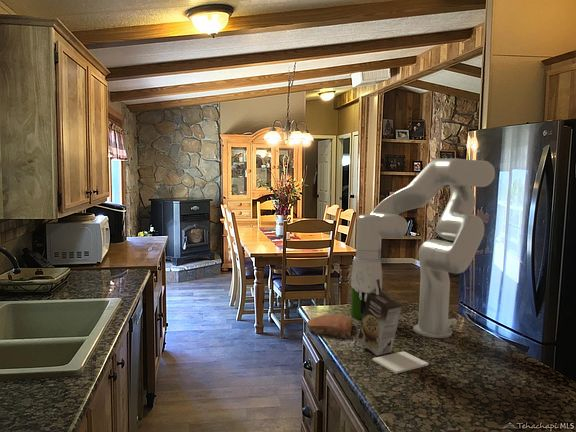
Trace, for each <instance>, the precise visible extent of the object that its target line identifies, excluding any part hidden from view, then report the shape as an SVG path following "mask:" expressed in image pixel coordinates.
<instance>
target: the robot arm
mask: <svg viewBox="0 0 576 432" xmlns="http://www.w3.org/2000/svg"><path fill="white" fill-rule="evenodd" d="M495 169H496V168H495V167H494V165H493V164H492V163H491V162H489V161H487V160H480V159H466V158H464V159H463V158H453V157H451V158H449V157H448V158H447V157H446V158H443V157H442V158H435V159H433V160H431V161H430V162H428V163H427V164H426V166H425V167H424V168H422V170H420V172H419V173H418V174H417V175H416V176H415V177H414V178H413V179H412V181H411V182H410V183H409V184H407V186H405V187H403V188H401V189H399V190H397V191H395V192H393V194H391V195H389V196H387V197H386V198H384V199H383V200H381V201H380V202H379V204H378V205H376V207H375V208H373V210H372V211H371V212H370V214H369V213H368V214H367V213H366V214H360V215H359V216H358V217H357V219H356V243H355V244H356V245H355V247H356V248H355V257H354V259H353V261H354V262H353V261H352V265H353V268H351V269H352V271H351V281H350V286H351V289H352V288H353V289H355V291H357V292H358V293H359V298H360V300H361V306H360V313H364V308H365V303H366V299H367V294H371V293H374V294H376V295H379V293H380V292H382V288H383V269H382V268H383V267H382V261H381V256H382V253H381V252H382V239H383V238H384V239H393V240H395V239H400V238H402V237H404V236H405V235H406V233H408V228H409V223H408V222H407V219H406V218H405V217H403V216H402V215H400V214H402V213H404V212H407V211H411V210H414V209H419V208H421V207H424V206H427V205H428V204H429V203H430V201H431V200H433V198H435V196H436V195H437V194H438V193H439V192H440V190H442V188H444V187H445V186H449V188H450V189H449V190H450V195H449V199H448V202H447V204H446V206H445V208H444V210H443V212H442V213H441V216H440V218H439V219H438V221H437V225H436V228H435V229H436V230H435V231H436V233H437V235H438V236H439V237H440V238H442V239H444V240H442V239H441V240H440V239H435V238H433V239H432V238H431V239H427V240H425V241H424V242H422V244H421V245H420V247H419V250H418V259H419V260H418V262H419V268H420V269H419V270H420V283H419V286H420V287H419V302H418V303H419V305H418V306H419V307H418V323H417V324H415V325H414V326H413V332H414V333H415V334H418V335H420V336H422V337H425V338H432V339H446V338H449V337H451V336H452V334H453V330H452V329H451V328H450V326H451V325H456V324H457V323H458V320H457V319H456V318H449V308H450V289H451V281H450V276H449V273H451V274H455V275H457V274H462V273H464V272H465V271H466V270H467V269H468V268H469V266H470V265H471V262H472V261H473V259H474V256H475V255H476V253H477V250H478V248H479V247H480V245H481V242H482V240H483V238H484V235H485V224H484V221H483V219H482V218H481V217H480V216H478V215H475V214H472V213H473V212H474V209H475V206H476V196H475V193H474V191H473V188H474V187H477V188H478V187H479V188H484V187H485V188H486V187H488V186H489V185H490V184H492V182H493V181H494V179H495V178H496V170H495ZM472 187H473V188H472ZM447 240H448V241H447ZM452 241H453V242H452Z"/></svg>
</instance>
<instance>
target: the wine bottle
mask: <svg viewBox="0 0 576 432" xmlns="http://www.w3.org/2000/svg"><path fill="white" fill-rule="evenodd" d="M353 262H354V260H353V261H352V263H353ZM351 267H352V268H353V264H352V265H351ZM352 268H351V269H352ZM350 299H351V300H350V301H351V302H350V316H351V318H354V319H356V320H362V318H363V313H360V306H361V300H360V298H359V293H358V292H357V291H355V289H353V288H352V287H351V297H350Z"/></svg>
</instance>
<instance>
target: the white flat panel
mask: <svg viewBox="0 0 576 432" xmlns="http://www.w3.org/2000/svg"><path fill="white" fill-rule="evenodd" d="M372 362H374V363H375V364H378V365H380V366H382V367H383V368H386V370H389V371H391V372H393V373H395V374H400V373H403V372H407V371H411V370H416V369H419V368H420V369H421V368H424V367H427V366H429V362H427V361H425V360H423V359H420V358H419V357H416V356H414V355H412V354H410V353H408V352H406V351H404V350H403V351H402V350H401V351H400V352H399V351H398V352H395V353H390V354H389V353H388V354H384V355H382V356H377V357H373V358H372Z"/></svg>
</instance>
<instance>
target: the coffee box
mask: <svg viewBox="0 0 576 432" xmlns="http://www.w3.org/2000/svg"><path fill="white" fill-rule="evenodd" d="M402 309H403V304H402V303H401V302H399V301H397V300H396V299H394V298H393V297H391V296H389V295H388V294H387V293H385V292H383V291H381V292H380V293H379V295H376V294H374V293H371V294H367V299H366V303H365V308H364V313H363V318H362V319H361V323H360V327H359V334H358V338H357V341H358V342H359V343H360V344H361V345H363V346H364V347H366V349H368V350H369V351H371V352H372V353H373V354H374V355H375V356H377V357H379V356H380V355H382V356H383V355H386V354H389V353H392V351H393V349H392V348H393V345H394V341H395V337H396V334H397V333H396V332H397V329H398V325H399V322H400V321H399V320H400V317H401V313H402Z"/></svg>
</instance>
